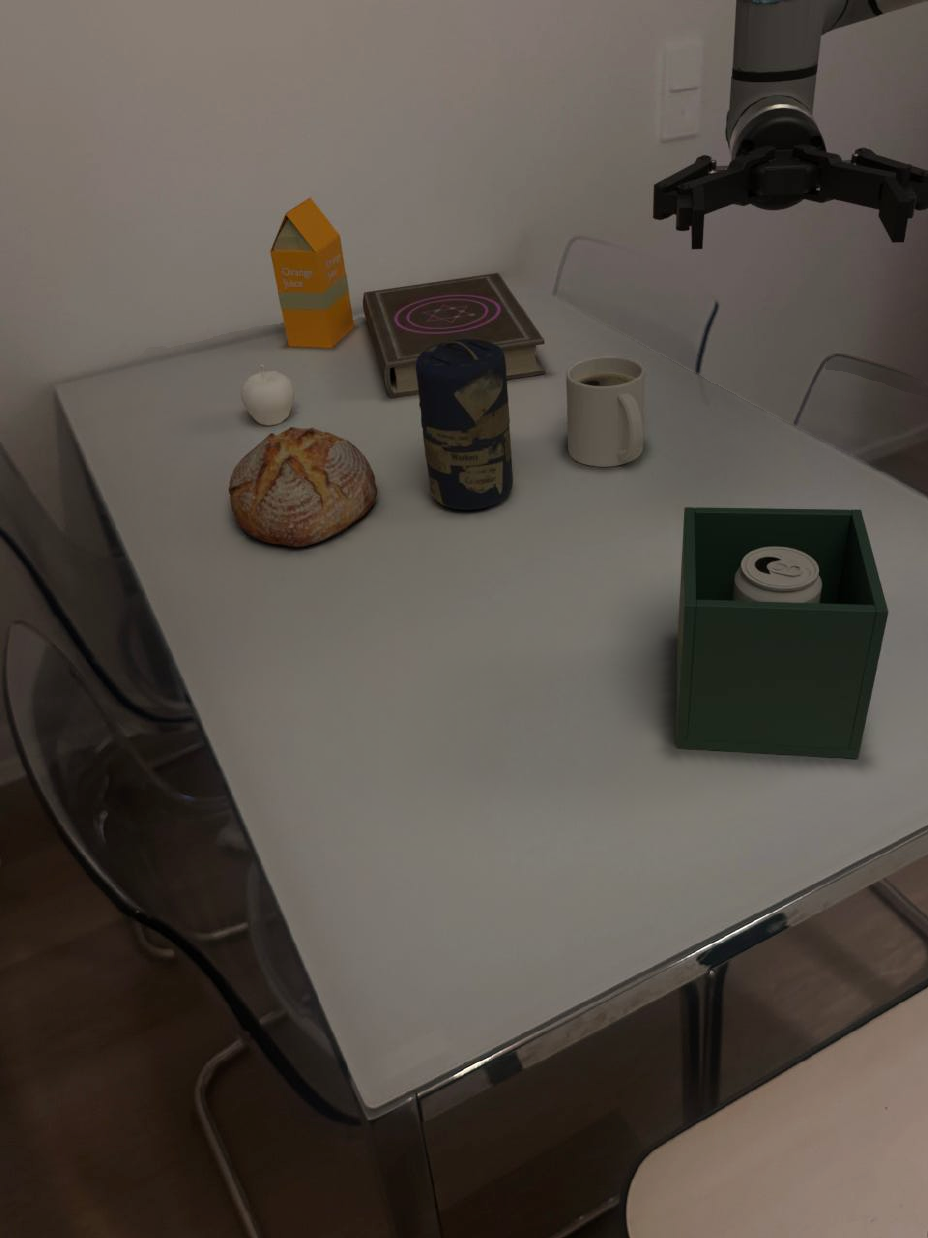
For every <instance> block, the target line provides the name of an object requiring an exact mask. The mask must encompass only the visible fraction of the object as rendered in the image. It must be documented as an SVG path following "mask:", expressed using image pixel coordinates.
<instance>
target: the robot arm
mask: <svg viewBox="0 0 928 1238" xmlns="http://www.w3.org/2000/svg"><path fill="white" fill-rule="evenodd" d="M926 2H928V0H735V13H734V14H735V15H734V18H735V19H734V33H733V50H732V51H733V52H732V68H731V75H730V76H731V77H730V90H729V103H728V104H729V107H728V110H727V112H726V116H725V129H724V130H725V131H724V135H725V136H724V137H725V141H726V142H727V148H728V149H729V154H730V162H729V163H728V165H717V163H718V162H717V159H712V156H710V155H708V154H702V155H700V156H697V157H696V159H695V161H694V163H692V164H690V165H688V166H686V167H684V168H682V169H681V170H679V171H677V172H675V173H673V174H670V175H669V176H667V177H666V178H664V179H661V180H660V181H658V182H656V183H654V184H653V193H652V194H653V195H652V196H653V200H652V219H654V220H658V221H663V220H666V219H668V218H670V217H672V216H673V215H675V231H677V232H688V231H690V230H691V232H690V233H691V250H703V247H704V245H703V244H704V227H705V215H708V214H710V213H713V212H716V211H718V210H721V209H723V208H726V207H730V206H731V205H735V206H740V207H746V206H749V205H751V206H753V207H755V208H758V209H759V210H760V209H761V210H765V211H781V210H786V209H789V208H791V207H794V206H796V205H798V204H800V203H801V202H802V201H804V200H806V201H811V202H814V203H819V204H824V203H827V202H830V201H834V200H835V201H840V202H844V203H848V204H853V205H856V206H859V207H860V206H861V207H864V208H865V207H866V208H869V209H873V210H878V215H877V216H878V218H879V220H880V222H881V224H882V226H883V227H884V230H885V231H886V233H887V235H888V237H889V239H890V241H891V243H893V244H895V243H905V239H906V232H907V227H908V222H909V219H913V217H914V215H915V211H926V210H928V169H925V168H922V167H918V166H914V165H912V164H911V163H905V162H902V161H899V160H895V159H892V158H889V157H886V156H884V155H883V156H882V155H879V154H876V153H875V152H874V151H873V150H872V149H870V148H867V147H859V148H857V149H855V150H854V153H852V154H851V157H850V159H842V157H841V155H840V154H839V153H834V152H828V151H827V146H826V143H825V140H824V136H823V135H822V133H821V131H820V129H819V127H818V124H817V122H816V120H815V118H814V117H813V112H814V102H815V93H816V85H817V73H818V66H819V57H820V50H821V49H820V48H821V41H822V36H824V35H826V34H827V33H829V32H832V31H834V30H837V29H840V28H841V29H842V28H844V27H847V26H850V25H853V24H858V23H860V22H864V21H867V20H870V19H874V18H878V17H880V16H881V15H882V16H883V15H885V14H889V13H892V12H895V11H899V10H901V9H906V8H909V7H912V6H916V5H919V4H922V3H926ZM690 228H691V229H690Z"/></svg>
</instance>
